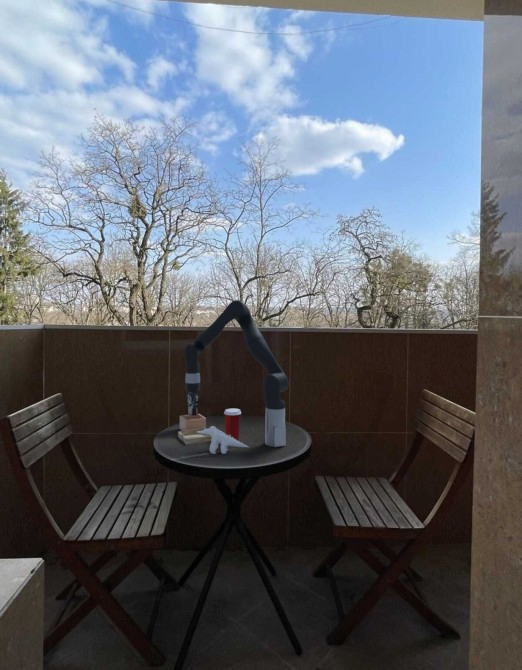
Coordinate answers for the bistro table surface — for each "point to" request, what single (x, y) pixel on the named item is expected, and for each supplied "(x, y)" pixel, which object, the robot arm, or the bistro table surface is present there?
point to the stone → (190, 410)
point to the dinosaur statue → (220, 440)
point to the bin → (192, 422)
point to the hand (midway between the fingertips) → (192, 414)
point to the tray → (193, 436)
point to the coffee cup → (232, 422)
